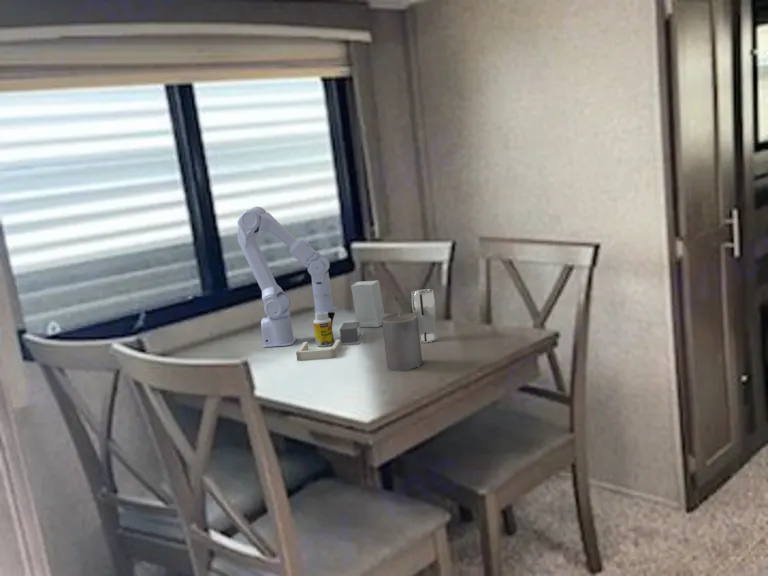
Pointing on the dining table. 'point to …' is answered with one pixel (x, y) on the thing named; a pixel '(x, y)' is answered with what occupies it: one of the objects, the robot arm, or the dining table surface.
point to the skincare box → (368, 303)
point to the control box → (350, 334)
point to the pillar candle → (402, 341)
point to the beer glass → (425, 314)
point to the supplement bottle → (323, 330)
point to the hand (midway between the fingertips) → (327, 336)
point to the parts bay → (318, 352)
